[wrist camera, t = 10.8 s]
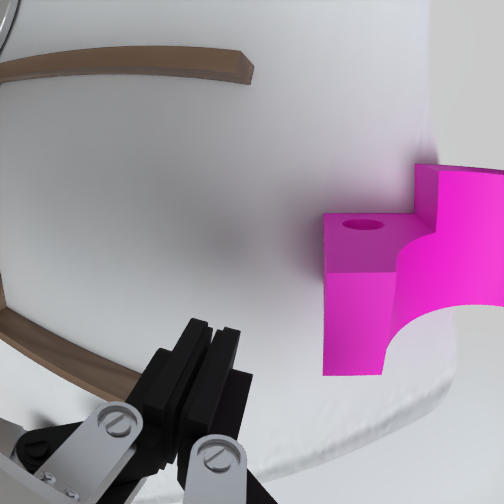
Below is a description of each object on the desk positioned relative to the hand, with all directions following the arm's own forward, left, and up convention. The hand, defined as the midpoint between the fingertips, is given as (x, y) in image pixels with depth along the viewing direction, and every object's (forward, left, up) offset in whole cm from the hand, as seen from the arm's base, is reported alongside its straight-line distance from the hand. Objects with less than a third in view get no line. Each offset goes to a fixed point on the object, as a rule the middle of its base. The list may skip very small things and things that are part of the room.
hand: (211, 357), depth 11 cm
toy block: (-5, +10, -8) cm, 14 cm away
